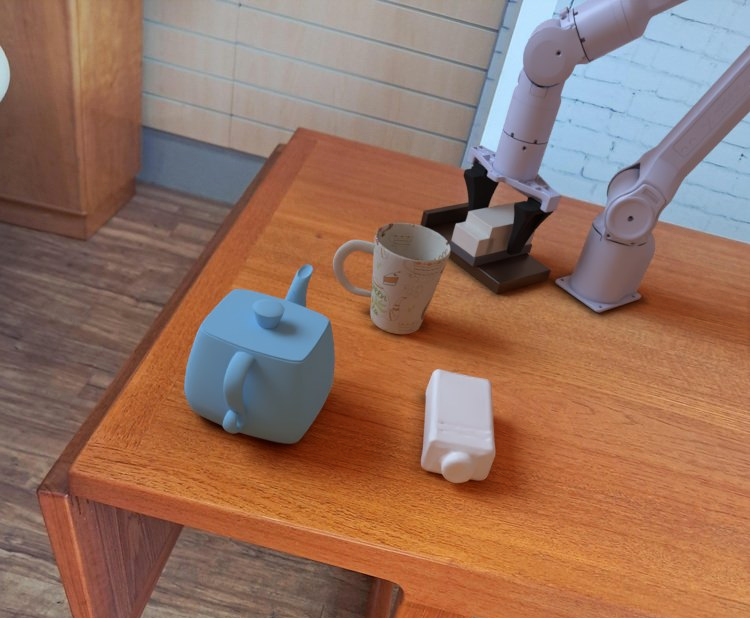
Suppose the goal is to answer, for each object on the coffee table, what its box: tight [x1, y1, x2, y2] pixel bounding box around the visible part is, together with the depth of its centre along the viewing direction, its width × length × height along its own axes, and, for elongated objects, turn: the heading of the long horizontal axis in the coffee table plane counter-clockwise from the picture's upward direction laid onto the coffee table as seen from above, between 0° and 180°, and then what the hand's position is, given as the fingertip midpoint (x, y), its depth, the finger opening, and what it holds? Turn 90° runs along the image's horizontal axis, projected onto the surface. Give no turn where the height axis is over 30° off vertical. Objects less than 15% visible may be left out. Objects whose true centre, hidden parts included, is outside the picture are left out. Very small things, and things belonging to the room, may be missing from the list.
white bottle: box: [420, 368, 496, 484], centre depth 76 cm, size 6×13×4 cm, turn 175°
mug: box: [332, 222, 450, 335], centre depth 88 cm, size 8×13×10 cm, turn 78°
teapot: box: [183, 263, 336, 445], centre depth 73 cm, size 12×18×12 cm
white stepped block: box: [449, 201, 536, 267], centre depth 103 cm, size 11×5×5 cm, turn 128°
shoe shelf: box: [419, 201, 552, 295], centre depth 105 cm, size 10×16×4 cm, turn 38°
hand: (493, 238), depth 104 cm, fingers open, 7 cm apart
